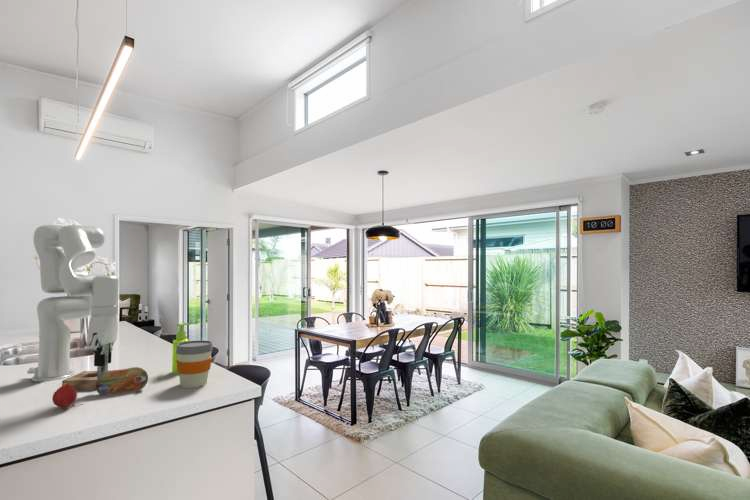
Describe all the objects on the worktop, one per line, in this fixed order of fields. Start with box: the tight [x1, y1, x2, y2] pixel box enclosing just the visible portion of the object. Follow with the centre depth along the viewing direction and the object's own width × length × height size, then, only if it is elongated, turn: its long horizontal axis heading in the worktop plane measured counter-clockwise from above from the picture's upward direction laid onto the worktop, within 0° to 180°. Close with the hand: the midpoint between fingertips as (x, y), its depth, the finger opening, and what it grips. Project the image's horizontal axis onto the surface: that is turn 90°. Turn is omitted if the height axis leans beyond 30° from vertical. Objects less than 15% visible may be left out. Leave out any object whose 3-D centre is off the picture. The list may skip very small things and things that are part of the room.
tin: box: [96, 366, 149, 397], centre depth 131 cm, size 15×3×8 cm, turn 126°
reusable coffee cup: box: [176, 339, 214, 389], centre depth 142 cm, size 13×12×15 cm
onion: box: [51, 383, 78, 410], centre depth 117 cm, size 6×6×8 cm
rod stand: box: [61, 370, 112, 391], centre depth 138 cm, size 12×12×4 cm
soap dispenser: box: [171, 322, 191, 375], centre depth 159 cm, size 6×7×20 cm
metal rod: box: [96, 343, 109, 379], centre depth 131 cm, size 3×3×14 cm
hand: (102, 364), depth 131 cm, fingers closed on metal rod, 3 cm apart
